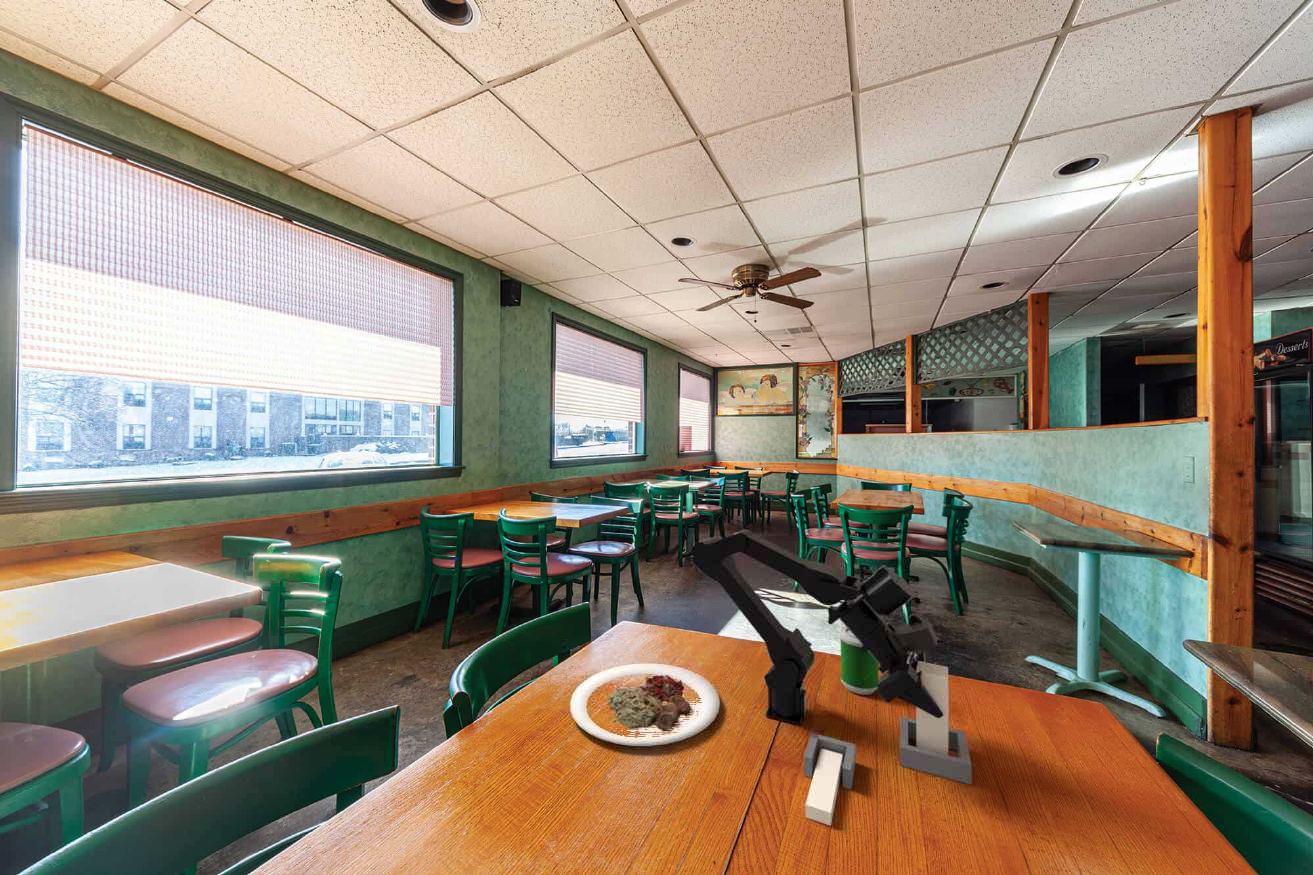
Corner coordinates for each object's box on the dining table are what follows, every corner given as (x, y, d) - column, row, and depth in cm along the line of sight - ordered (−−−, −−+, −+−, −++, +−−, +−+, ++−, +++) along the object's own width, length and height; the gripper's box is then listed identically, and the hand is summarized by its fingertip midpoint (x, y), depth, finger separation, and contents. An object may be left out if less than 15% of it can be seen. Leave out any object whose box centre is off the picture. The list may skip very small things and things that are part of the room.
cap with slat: (792, 812, 69) (792, 791, 69) (811, 750, 83) (811, 732, 83) (844, 830, 66) (844, 808, 66) (855, 762, 80) (855, 744, 80)
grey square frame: (899, 765, 79) (899, 746, 79) (900, 732, 88) (900, 716, 88) (971, 784, 74) (971, 765, 74) (964, 748, 83) (964, 731, 83)
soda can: (882, 698, 100) (882, 640, 100) (844, 694, 101) (843, 637, 101) (874, 680, 107) (873, 626, 107) (838, 677, 108) (837, 624, 109)
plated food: (548, 748, 84) (548, 729, 84) (591, 668, 114) (591, 654, 114) (721, 760, 81) (720, 740, 81) (719, 674, 111) (718, 660, 111)
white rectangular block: (916, 748, 80) (916, 671, 81) (918, 735, 84) (918, 660, 84) (947, 758, 78) (947, 678, 78) (948, 743, 82) (948, 667, 82)
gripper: (899, 620, 76) (985, 712, 70) (910, 589, 91) (980, 662, 85) (846, 658, 80) (923, 748, 74) (865, 622, 96) (929, 694, 90)
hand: (941, 709), depth 80 cm, fingers closed on white rectangular block, 4 cm apart
